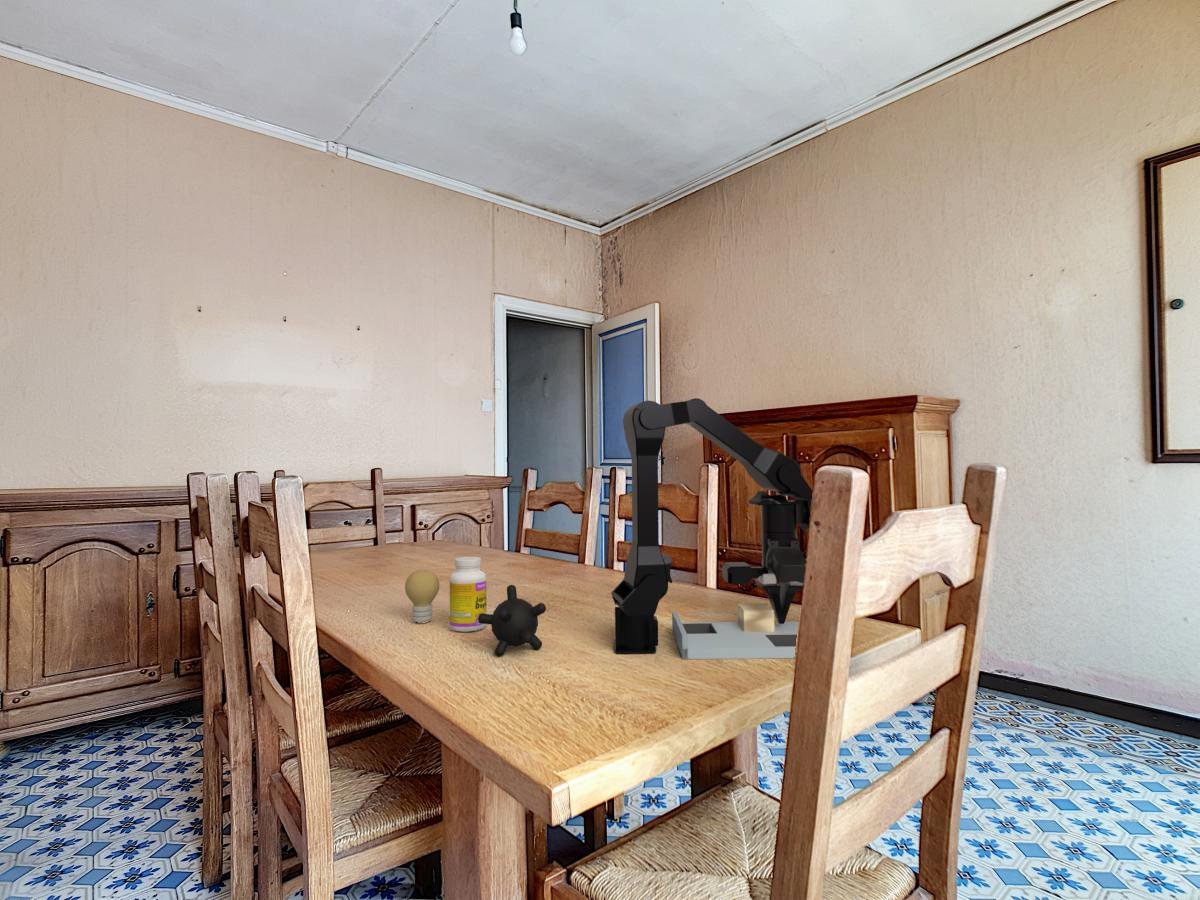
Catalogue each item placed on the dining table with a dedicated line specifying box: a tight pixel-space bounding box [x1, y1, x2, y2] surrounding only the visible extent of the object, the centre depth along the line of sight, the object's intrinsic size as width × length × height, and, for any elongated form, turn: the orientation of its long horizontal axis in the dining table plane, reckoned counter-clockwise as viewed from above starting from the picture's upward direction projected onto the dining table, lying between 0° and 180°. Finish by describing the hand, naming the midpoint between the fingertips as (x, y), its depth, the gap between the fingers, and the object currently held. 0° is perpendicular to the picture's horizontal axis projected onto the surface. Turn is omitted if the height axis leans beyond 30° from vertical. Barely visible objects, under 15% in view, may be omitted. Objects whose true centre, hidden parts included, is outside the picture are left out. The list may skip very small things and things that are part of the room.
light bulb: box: [404, 569, 440, 623], centre depth 117 cm, size 6×6×10 cm
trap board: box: [671, 610, 798, 660], centre depth 99 cm, size 23×15×4 cm, turn 89°
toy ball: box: [478, 584, 547, 657], centre depth 98 cm, size 11×11×12 cm
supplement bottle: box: [449, 556, 488, 632], centre depth 112 cm, size 7×7×13 cm
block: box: [737, 602, 775, 632], centre depth 103 cm, size 5×5×4 cm
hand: (780, 623), depth 103 cm, fingers closed
